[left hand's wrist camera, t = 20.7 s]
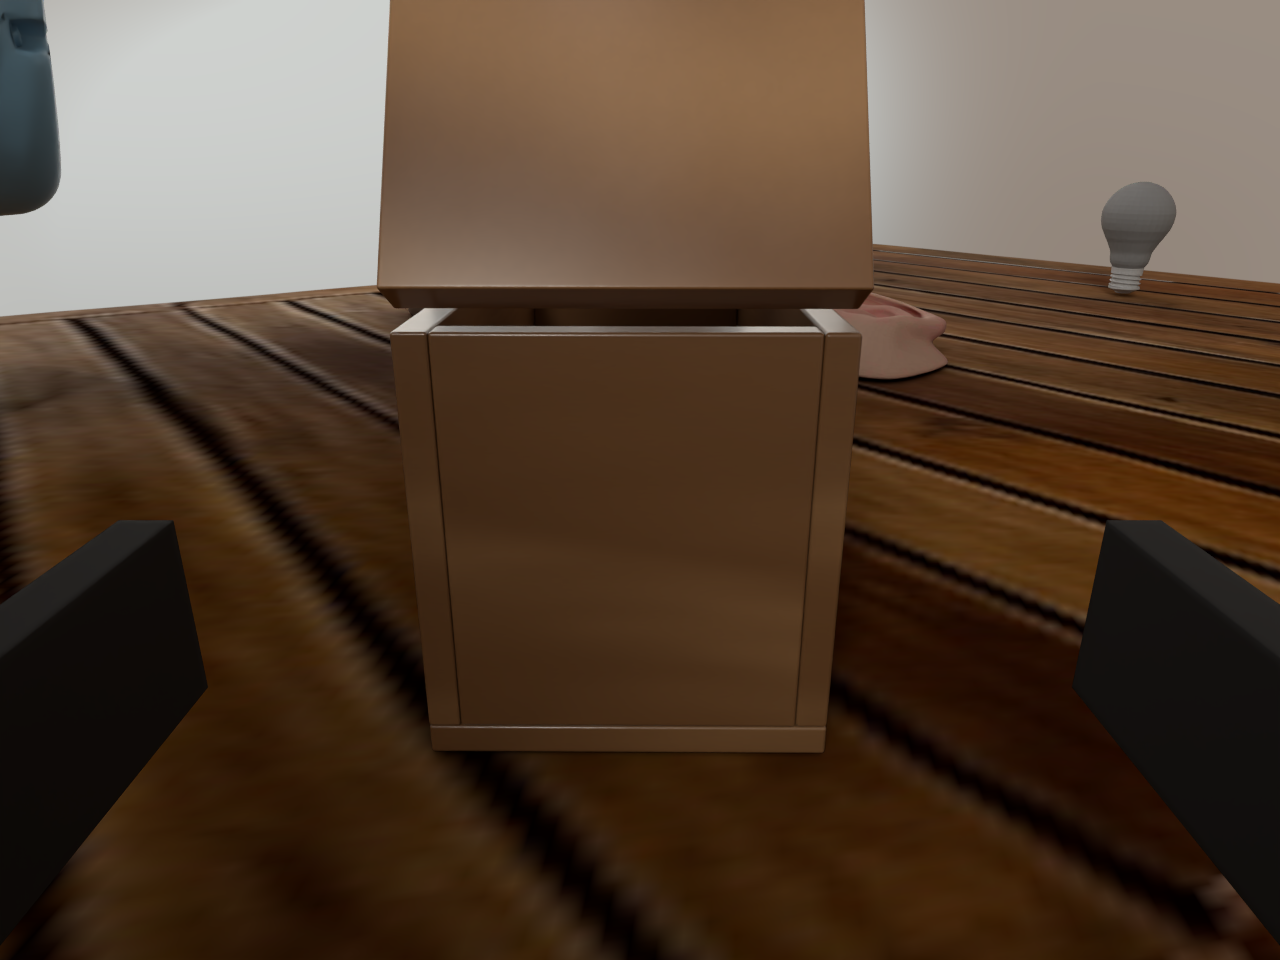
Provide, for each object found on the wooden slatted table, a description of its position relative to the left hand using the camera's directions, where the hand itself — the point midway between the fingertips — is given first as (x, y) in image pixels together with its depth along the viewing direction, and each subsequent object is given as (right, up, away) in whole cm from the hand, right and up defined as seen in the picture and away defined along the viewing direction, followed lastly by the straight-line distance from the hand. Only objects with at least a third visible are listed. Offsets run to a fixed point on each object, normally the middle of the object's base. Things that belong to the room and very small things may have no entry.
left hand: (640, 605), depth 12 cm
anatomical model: (+15, +10, +46) cm, 49 cm away
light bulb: (+46, +19, +70) cm, 86 cm away
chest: (0, -1, +15) cm, 15 cm away
